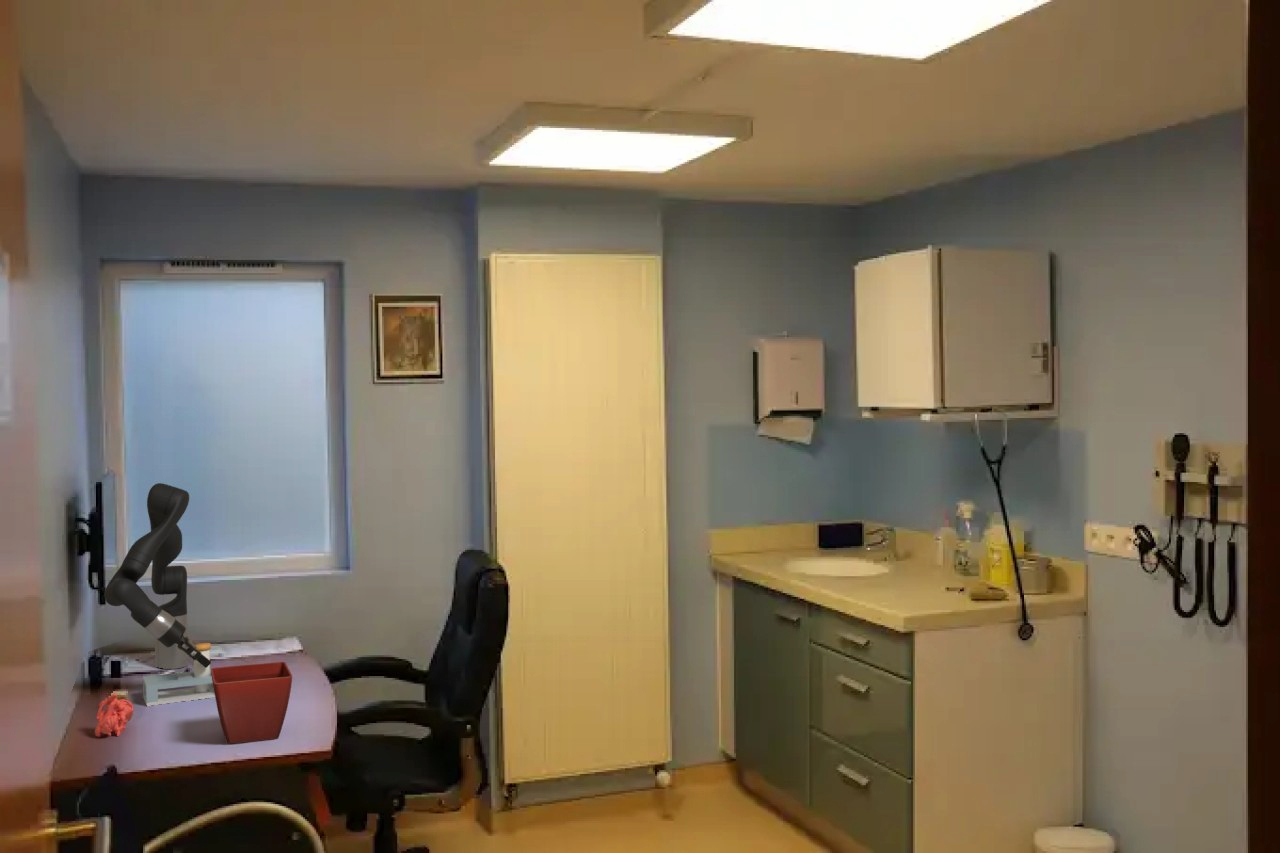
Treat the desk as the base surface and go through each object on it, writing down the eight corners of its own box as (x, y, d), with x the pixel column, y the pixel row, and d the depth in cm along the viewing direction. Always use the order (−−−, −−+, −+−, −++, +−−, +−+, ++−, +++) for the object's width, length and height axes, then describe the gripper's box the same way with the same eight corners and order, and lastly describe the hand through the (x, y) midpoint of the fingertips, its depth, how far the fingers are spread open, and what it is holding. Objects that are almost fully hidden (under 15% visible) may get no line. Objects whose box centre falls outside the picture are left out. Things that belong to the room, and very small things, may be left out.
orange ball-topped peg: (189, 692, 343) (189, 645, 342) (199, 688, 348) (198, 642, 347) (204, 693, 342) (204, 646, 341) (214, 689, 346) (213, 642, 346)
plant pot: (286, 721, 315) (285, 660, 314) (294, 740, 297) (292, 675, 297) (211, 730, 308) (210, 667, 307) (215, 750, 290) (213, 683, 289)
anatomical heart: (129, 732, 312) (140, 689, 312) (122, 745, 300) (134, 701, 301) (94, 726, 310) (106, 683, 310) (86, 739, 298) (98, 695, 298)
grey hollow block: (146, 706, 332) (146, 685, 332) (143, 696, 342) (142, 676, 342) (227, 696, 342) (226, 676, 342) (221, 687, 353) (220, 668, 353)
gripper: (177, 622, 334) (219, 657, 340) (171, 614, 347) (212, 647, 352) (157, 642, 332) (200, 677, 337) (153, 633, 344) (194, 667, 350)
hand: (206, 662), depth 345 cm, fingers open, 8 cm apart
